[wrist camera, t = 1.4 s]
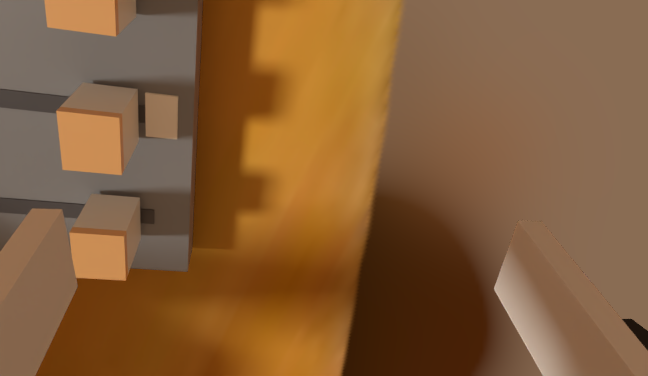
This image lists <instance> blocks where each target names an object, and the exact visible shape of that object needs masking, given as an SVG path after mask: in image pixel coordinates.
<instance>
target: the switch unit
mask: <svg viewBox="0 0 648 376" xmlns="http://www.w3.org/2000/svg"><path fill="white" fill-rule="evenodd" d="M202 13H203V0H136V17H135V18H134V19H133V20H132V21H131V22H130V23H129V24H128V25H127V26H126V27H125V28H124V29H123V30H122V31H121V32H120V33H119V34H118V35H117V36H116V37H115V36H108V35H100V34H93V33H86V32H78V31H71V30H63V29H56V28H49V27H47V20H46V10H45V1H44V0H0V251H1V250H2V248H3V247H4V246H5V244H6V243H7V242H8V240H9V239H10V238H11V236H12V235H13V234H14V232H15V231H16V229H17V228H18V227H19V225H20V224H21V223H22V221H23V220H24V219H25V217H26V216H27V215H28V213H29V212H30V210H31V209H32V208H35V209H62V211H63V216H64V220H65V225H66V230H67V235H68V240H69V245H70V250H71V244H70V235H69V232H70V230H71V229H72V227H73V225H74V223H75V222H76V220H77V218H78V216H79V215H80V213H81V211H82V209H83V208H84V206H85V204H86V202H87V201H88V199H89V197H90V195H91V194H103V195H115V196H127V197H139V198H140V225H141V240H140V242H139V245H138V248H137V251H136V254H135V257H134V259H133V262H132V265H131V268H134V269H151V270H167V271H184V272H188V267H189V262H190V257H191V252H192V244H193V221H194V198H195V175H196V152H197V129H198V106H199V83H200V60H201V37H202ZM82 83H92V84H100V85H108V86H117V87H125V88H134V89H138V127H139V142H138V144H137V146H136V148H135V150H134V152H133V154H132V156H131V158H130V160H129V162H128V164H127V166H126V168H125V170H124V172H123V174H122V175H114V174H103V173H92V172H81V171H70V170H63V169H62V160H61V150H60V141H59V132H58V122H57V113H56V111H57V110H58V109H59V108H60V106H61V105H62V104H63V103H64V102H65V101H66V100H67V99H68V98H69V97H70V96H71V95H72V94H73V93H74V92H75V91H76V90H77V88H78V87H79V86H80V85H81V84H82ZM71 255H72V253H71Z"/></svg>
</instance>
